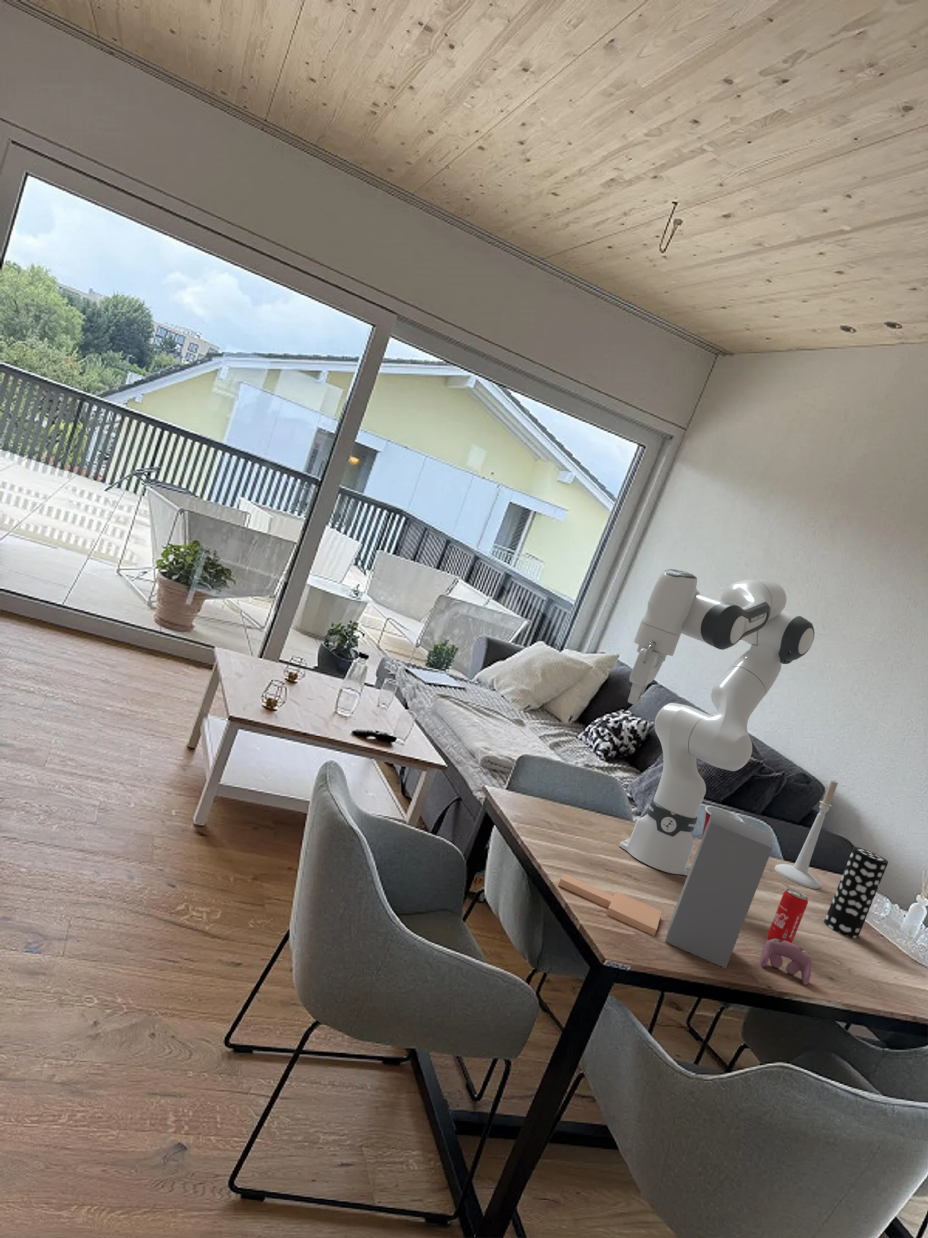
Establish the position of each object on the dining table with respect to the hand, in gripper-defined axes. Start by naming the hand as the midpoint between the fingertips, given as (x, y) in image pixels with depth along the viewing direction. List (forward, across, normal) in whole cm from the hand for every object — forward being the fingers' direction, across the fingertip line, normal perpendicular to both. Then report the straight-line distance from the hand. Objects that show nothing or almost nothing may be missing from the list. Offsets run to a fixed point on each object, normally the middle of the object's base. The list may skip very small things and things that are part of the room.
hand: (633, 701), depth 207 cm
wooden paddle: (+39, -15, -10) cm, 43 cm away
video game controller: (+40, -8, -46) cm, 61 cm away
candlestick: (+40, +77, -54) cm, 102 cm away
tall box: (+39, -15, -29) cm, 51 cm away
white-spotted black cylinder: (+39, +42, -63) cm, 85 cm away
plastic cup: (+39, +63, -29) cm, 80 cm away
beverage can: (+39, +8, -46) cm, 61 cm away
